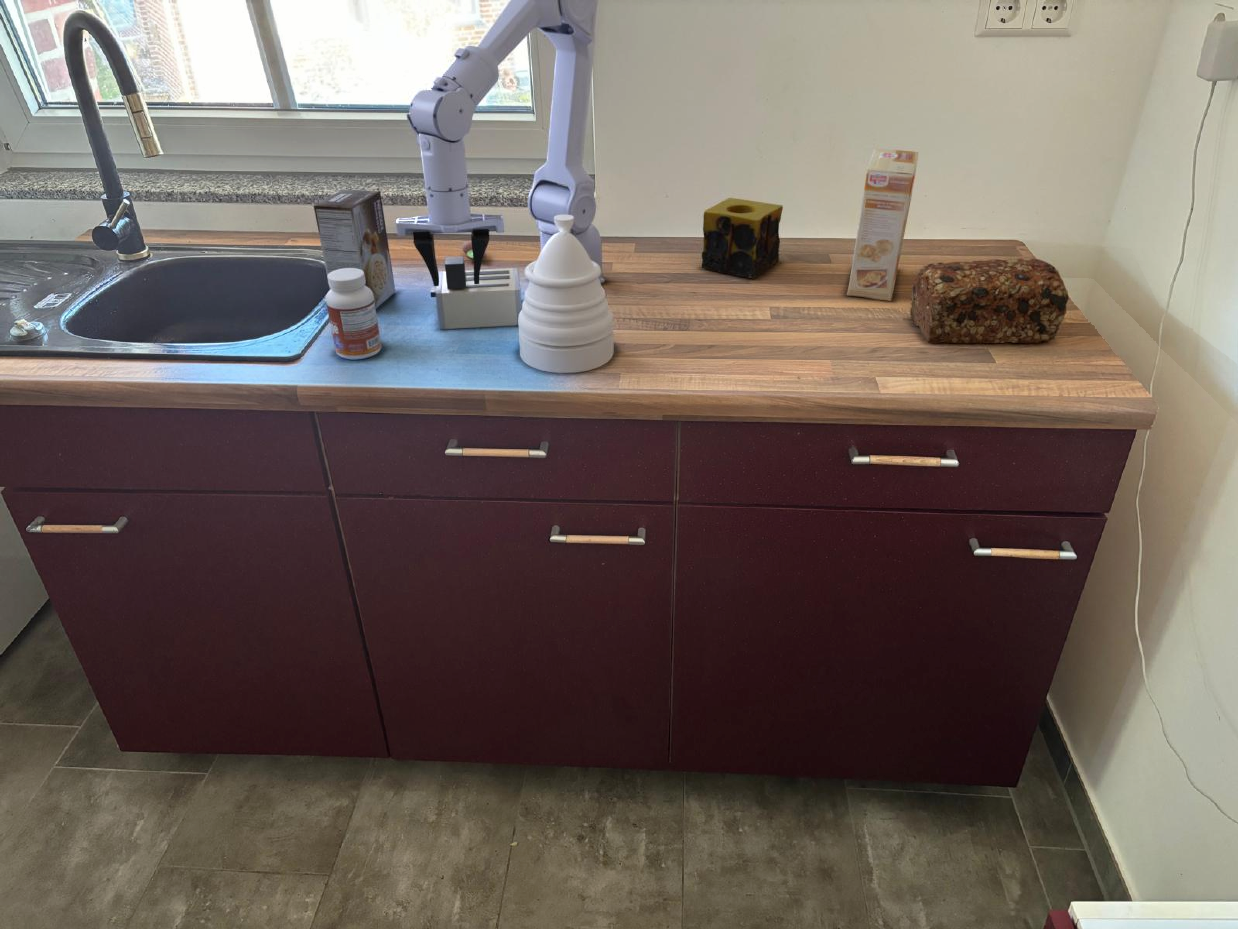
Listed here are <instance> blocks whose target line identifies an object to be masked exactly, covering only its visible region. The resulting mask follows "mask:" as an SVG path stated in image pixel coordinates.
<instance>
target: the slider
mask: <svg viewBox="0 0 1238 929" xmlns="http://www.w3.org/2000/svg"><path fill="white" fill-rule="evenodd" d="M444 259H445V260H444V270H445V271H446V280H447V289H455V288H466V273H465V270H466V264H465V256H448V257H447V256H446V257H445V258H444Z"/></svg>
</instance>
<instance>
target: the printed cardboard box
mask: <svg viewBox="0 0 1238 929" xmlns="http://www.w3.org/2000/svg"><path fill="white" fill-rule="evenodd" d="M381 193H382V192H381V190H364V189H347V188H346V189H340V190H339V191H337V192H335V193H333V194H332V195H330V196H328V197H325V199H322V200H321V201H319V202H317V203H316V204H314V205H313V210H314V216H315V220H316V226H317V230H318V236H319V242H320V246H321V252H322V257H323V261H324V266H325V272H326V277H327V276H328V274H329V273H330V272H332V271H335V270H338V269H343V268H357V269H360V270H362V271H363V272H364V275H365V280H366V281H365V286H367V287H368V288H370V289H371V291H372V292H373V296H374V301H375V308H376V309H378V308H379V307H380V306H381V305H383V304H384V302H386V301H387V300H388V299H389V298H390V297H392V295H394V294H395V293H396V286H395V280H394V279H395V278H394V273H393V266H392V260H391V252H390V247H389V239H388V233H387V227H386V221H385V214H384V213H385V212H384V207H383V200H382V194H381ZM328 289H329V291H330V290H331V288H330V287H329V288H328Z"/></svg>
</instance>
